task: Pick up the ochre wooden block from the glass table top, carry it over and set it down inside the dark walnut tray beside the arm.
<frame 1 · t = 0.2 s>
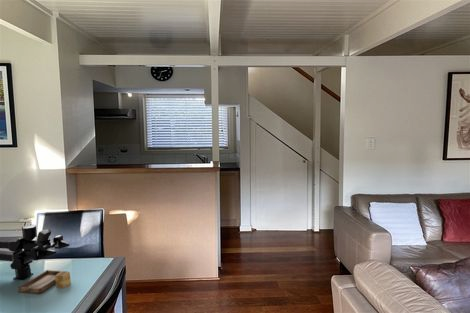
hand: (62, 248, 162), 17 cm above the table, tool horizontal, fingers open, 9 cm apart
ochre block: (63, 285, 159), on the table
walnut tray: (44, 283, 161), on the table
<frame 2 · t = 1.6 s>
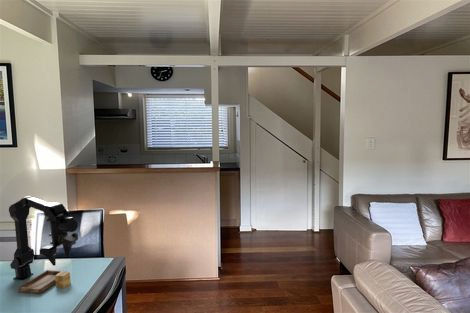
hand: (61, 261, 158), 12 cm above the table, tool pointing down, fingers open, 9 cm apart
nothing on the table moved.
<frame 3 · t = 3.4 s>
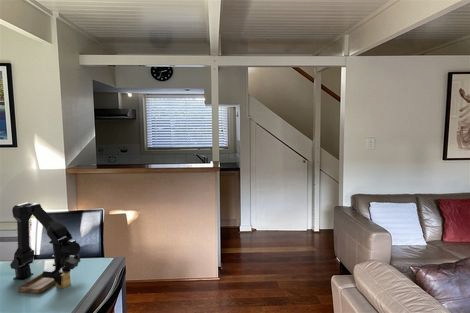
hand: (63, 282, 159), 1 cm above the table, tool pointing down, fingers closed on ochre block, 4 cm apart
ochre block: (63, 285, 159), on the table, touching gripper
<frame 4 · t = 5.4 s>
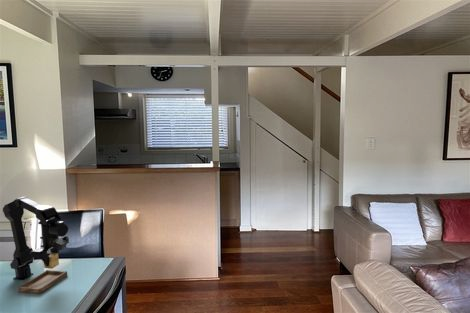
hand: (51, 263, 159), 11 cm above the table, tool pointing down, fingers closed on ochre block, 4 cm apart
ochre block: (51, 266, 159), point 9 cm above the table, touching gripper
when the fingers open (3 cm above the table, at t = 7.9 s): ochre block drops 1 cm, resting on walnut tray.
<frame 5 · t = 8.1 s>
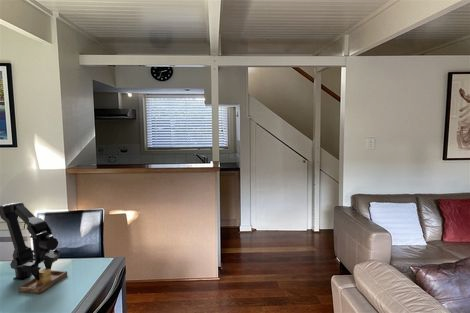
hand: (43, 276, 161), 3 cm above the table, tool pointing down, fingers open, 6 cm apart
ochre block: (44, 282, 161), point 1 cm above the table, touching walnut tray
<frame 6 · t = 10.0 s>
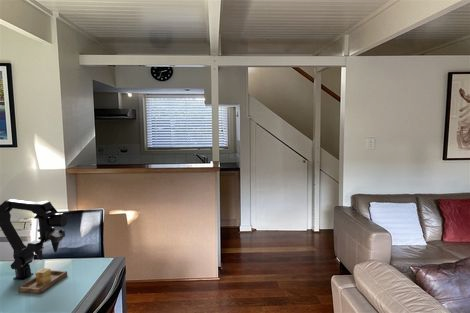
hand: (48, 255, 166), 12 cm above the table, tool pointing down, fingers open, 9 cm apart
nothing on the table moved.
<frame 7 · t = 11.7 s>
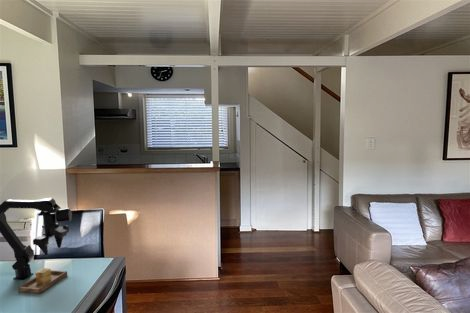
hand: (53, 251, 171), 12 cm above the table, tool pointing down, fingers open, 9 cm apart
nothing on the table moved.
at the end: ochre block inside the target area on the walnut tray (0.0 cm from its centre), point 0.8 cm above the walnut tray's base; the gripper is holding nothing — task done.
